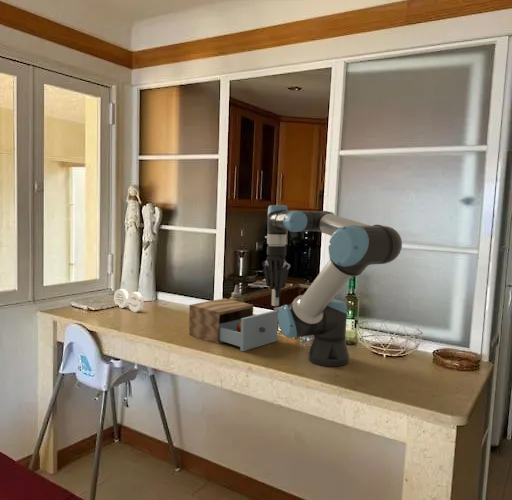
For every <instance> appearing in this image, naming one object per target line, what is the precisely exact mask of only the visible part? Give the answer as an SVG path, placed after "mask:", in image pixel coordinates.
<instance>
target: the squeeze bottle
mask: <svg viewBox="0 0 512 500" xmlns="http://www.w3.org/2000/svg"><path fill="white" fill-rule="evenodd" d="M229 299H230V300H234V301H238V302H243V303H244V298H243V297H242V292H240V289H239V285H238V284H235V286H234V291H233V292H231V296H230V297H229Z"/></svg>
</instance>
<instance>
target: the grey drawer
mask: <svg viewBox="0 0 512 500" xmlns="http://www.w3.org/2000/svg"><path fill="white" fill-rule="evenodd" d="M240 321H241V333H240V332H237V325H238V323H239V322H240ZM278 332H279V331H278V311H277V310H275V311H273V310H271V311H267V312H263V313H258V314H255V315H254V314H253V316H249V317H245V318H241V319H237V320H233V321H229V322H225V323H221V324H219V340H220V341H223V343H227V344H231V345H234V346H236V347H239V349H240V350H239V351H241V352H246V351H249V350H251V349H256V348H258V347H261V346H265V345H268V344H271V343H274V342H277V341H278Z"/></svg>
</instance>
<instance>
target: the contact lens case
mask: <svg viewBox="0 0 512 500" xmlns="http://www.w3.org/2000/svg"><path fill="white" fill-rule="evenodd" d="M113 301H114V303H115V305H116V304H118V305H119V307H121V308H120V309H124V308H127V307H128V308H129V310H130V311H131V312H134V313H137V312H140V311H142V309H143V308H144V304H145V303H144V302H145V301H144V297H143V295H142V294H141V293H140V292H139V291H134V292H133V291H132V292H130V293H129V291H127V290H126V289H125V288H119V289H116V290H115V291H114V293H113Z"/></svg>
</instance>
